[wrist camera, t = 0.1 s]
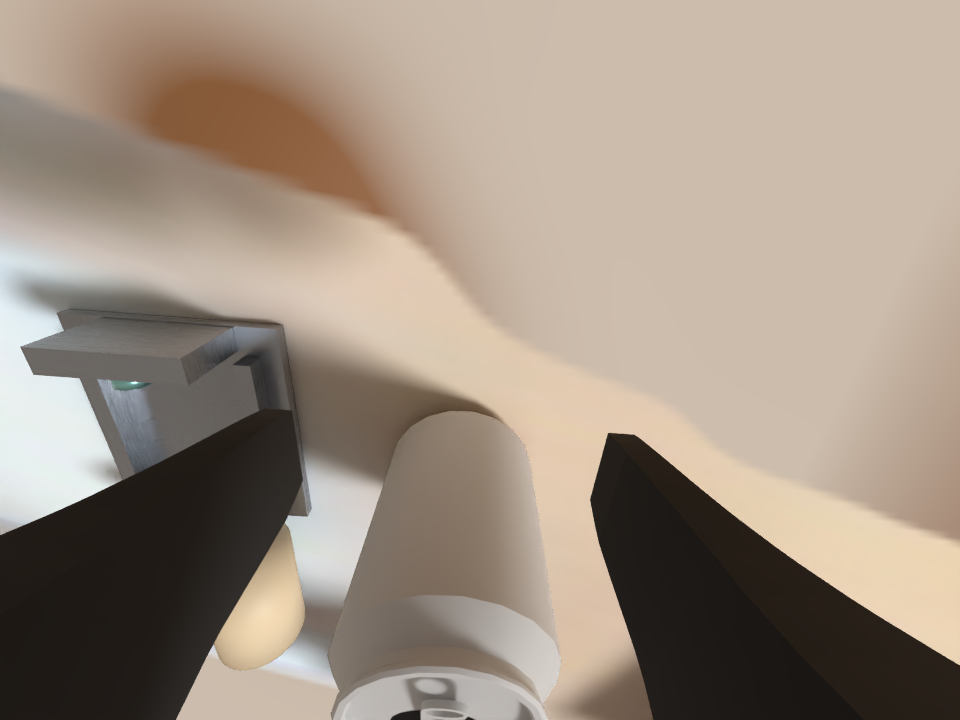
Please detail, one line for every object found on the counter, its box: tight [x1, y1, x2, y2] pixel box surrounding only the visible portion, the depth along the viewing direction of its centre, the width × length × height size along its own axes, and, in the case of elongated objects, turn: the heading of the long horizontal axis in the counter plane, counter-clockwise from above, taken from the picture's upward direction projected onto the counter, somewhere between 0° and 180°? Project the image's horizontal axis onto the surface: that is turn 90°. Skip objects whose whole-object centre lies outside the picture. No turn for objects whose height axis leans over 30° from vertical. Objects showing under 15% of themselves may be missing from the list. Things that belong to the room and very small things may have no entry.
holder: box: [21, 309, 311, 516], centre depth 19 cm, size 10×12×4 cm
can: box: [327, 411, 561, 720], centre depth 16 cm, size 8×8×12 cm
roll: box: [214, 523, 305, 670], centre depth 23 cm, size 7×5×5 cm
